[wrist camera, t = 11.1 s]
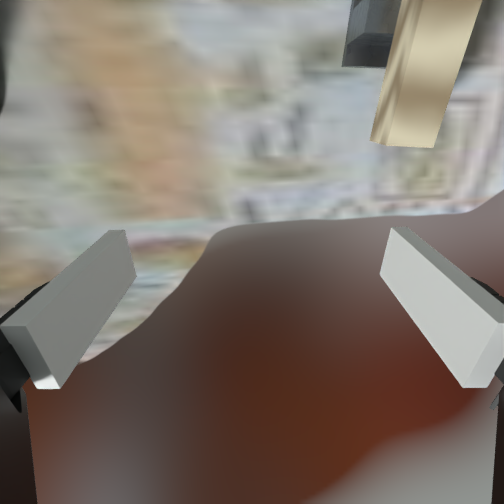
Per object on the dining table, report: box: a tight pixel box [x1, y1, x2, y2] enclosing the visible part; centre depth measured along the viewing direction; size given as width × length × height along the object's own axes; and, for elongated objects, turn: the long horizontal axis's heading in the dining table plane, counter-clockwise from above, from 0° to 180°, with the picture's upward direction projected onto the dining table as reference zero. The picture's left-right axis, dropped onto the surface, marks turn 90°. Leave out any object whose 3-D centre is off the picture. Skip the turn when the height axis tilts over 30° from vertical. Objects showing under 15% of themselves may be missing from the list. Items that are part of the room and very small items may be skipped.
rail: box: [342, 0, 402, 69], centre depth 28 cm, size 10×7×6 cm
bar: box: [370, 0, 482, 148], centre depth 23 cm, size 22×4×4 cm, turn 178°
